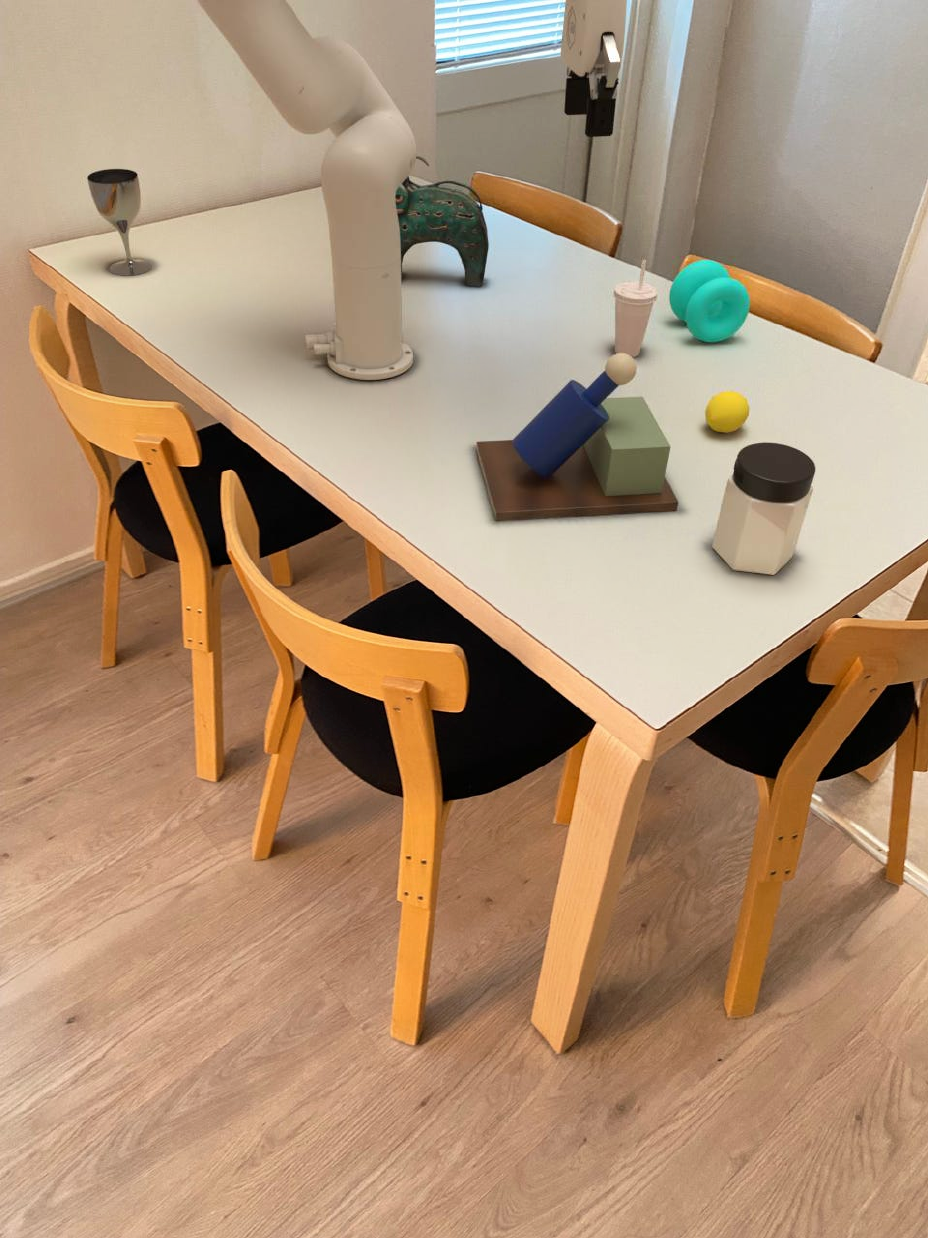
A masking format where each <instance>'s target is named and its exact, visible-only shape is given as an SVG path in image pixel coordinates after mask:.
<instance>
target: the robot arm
mask: <svg viewBox="0 0 928 1238" xmlns="http://www.w3.org/2000/svg"><path fill="white" fill-rule="evenodd" d="M197 3H198V4H199V5H200V7H201V8H202V10H203V11H204V13H205V14H206V15H207V17H208V18H209V19H210V20H211V22H212V23H213V24H214V26H215V27H216V28H217V29H218V31H219V32H220V33H221V34H222V36H223V37H224V39H225V40H226V41H227V42H228V44H229V46H231V48H232V49H233V50H234V52H235V53H236V55H237V56H238V57H239V59H240V61H241V62H242V63H243V65H244V66H245V67H246V69H247V70H248V72H249V73H250V75H251V77H253V79H254V80H255V81H256V83H257V84H258V85H259V87H260V88H261V90H262V91H263V92H264V93H265V95H266V97H267V98H268V100H270V102H271V103H272V105H273V106H274V108H275V109H276V111H278V113H279V115H280V116H281V117H282V118H283V120H284V121H285V122H286V123H287V124H288V125H289V126H290V127H291V129H293V130H295V131H296V132H298V133H301V134H303V135H317V134H320V133H323V132H324V131H326V130H328V129H329V130H330V131H331V133H332V134H333V135H334V137H335V139H334V140H333V141H332V142H331V144H330V145H329V146H328V148H327V149H326V151H325V154H324V156H323V159H322V163H321V168H320V184H321V185H320V187H321V192H322V197H323V201H324V205H325V210H326V216H327V224H328V233H329V244H330V257H331V270H332V271H331V272H332V273H331V274H332V285H333V287H332V288H333V302H334V303H333V304H334V317H335V325H333V331H327V332H326V333H327V334H316V333H315V334H313V333H312V334H305V335H304V336H305V348H306V349H314V355H323V354H327V364H328V366H329V368H330V369H331V370H332V371H334V372H335V373H337V374H338V375H340V376H343V377H345V378H349V379H354V380H361V381H378V380H379V381H380V380H387V379H391V378H394V377H397V376H400V375H401V374H404V373H405V372H407V371H408V370H410V368H411V367H412V366H413V364H414V351H413V349H412V348H411V347H410V346H409V345H408V344H407V343H406V342H403V301H402V300H403V297H402V294H403V293H402V291H403V289H402V275H401V244H400V228H399V221H398V215H397V210H396V202H395V196H396V190H397V189H398V188H399V186H400V185H401V184H402V183H403V182H404V181H405V179H406V178H407V177H408V176H409V177H410V175H411V173H412V171H413V169H414V167H415V164H416V160H417V159H416V156H417V144H416V143H417V142H416V140H415V136H414V134H413V131H412V129H411V127H410V125H409V124H408V122H407V120H406V119H405V118H404V116H403V114H402V113H401V111H400V110H399V108H398V107H397V105H396V104H395V102H394V100H393V99H392V98H391V96H390V95H389V94H388V92H387V91H386V89H385V88H384V86H383V84H382V83H381V81H379V79H378V77H377V76H376V74H375V73H374V72H373V70H372V69H371V67H370V66H369V65H368V62H366V60H365V59H364V58H363V56H362V55H361V54H360V53H359V52H358V51H357V50H356V49H355V48H354V46H352V45H351V44H350V43H348V42H346V41H345V40H343V39H341V38H339V37H336V36H330V35H322V36H317V37H312V35H311V34H310V33H309V31H308V30H307V29H306V27H305V26H304V25H303V24H302V22H301V21H300V19H299V18H298V17H297V14H296V13H295V11H294V10H293V8H292V7H291V5H289V3H288V1H286V0H197ZM627 3H628V0H565V3H564V4H565V5H564V13H563V23H562V34H561V42H560V43H561V44H560V58H561V61H562V62H563V63H564V65H566V66H567V67H566V79H565V95H564V109H563V112H564V114H565V115H566V116H584V115H585V128H584V135H585V136H587V138H598V137H611V136H612V135H613V133H614V125H615V124H614V123H615V114H616V105H617V104H616V103H617V98H618V85H619V83H620V82H619V73H620V70H621V68H622V62H623V54H624V46H625V36H626V35H625V34H626V24H627V23H626V21H627V6H628V5H627ZM598 79H599V81H598Z"/></svg>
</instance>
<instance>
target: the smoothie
mask: <svg viewBox="0 0 928 1238" xmlns="http://www.w3.org/2000/svg"><path fill="white" fill-rule="evenodd" d="M646 264H647V260H646V259H642V260H641V266H640V272H639V279H638V281H624V282H620V283H617V284H616V285H615V286H614V288H613V293H612V296H613V298H614V300H615V301H614V354H617V353H626V354H628V355H630V356H631V357H632V358H635V357H638V356H639V355H640V352H641V349H642V345H643V341H644V338H645V335H646V331H647V328H648V323H649V320H650V317H651V313H652V310H653V307H654V303H655V302H656V301H657V299H658V289H657V288H656V287H655V286H653V285H651V284H648V283H646V282H644V278H645V272H646Z"/></svg>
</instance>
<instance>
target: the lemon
mask: <svg viewBox="0 0 928 1238" xmlns="http://www.w3.org/2000/svg"><path fill="white" fill-rule="evenodd" d="M704 415H705V422H706V423H707V424H708V426H709V427H710V429H712V430H713V431H715V432H716V433H726V434H727V433H732V432H735V431H737V430H738V429H740V428H741V427H742V426H743V425H744V424H745V423H746V421H747V419H748V417H749V416H750V406H749V402H748V399H747V398H746V397H745V396H744V395H742V394H741V393H740V392H737V391H734V390H725V391H723V390H722V391H721V392H719V393H717V394H715V395H713V396H712V397H711V399H710V400H709V401H708V402H707V404H706V408H705V412H704Z"/></svg>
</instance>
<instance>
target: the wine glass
mask: <svg viewBox="0 0 928 1238" xmlns="http://www.w3.org/2000/svg"><path fill="white" fill-rule="evenodd" d="M86 180H87V184H88V189H89V191H90V192H89V193H90V196H91V198H92V202H93V204H94V206H95V208H96V211H97V212H98V213H99V216H101V217H102V219H104V220H105V221H106V222H107V223H108V224H110V225H111V226H112V227H113V228H114V229H115V230H116V231H117V232H118V234H119V236H120V238H121V241H122V244H123V247H124V251H125V257H126V259H123V260H120V261H117V262H115V263H113V264H111V265H110V266H109V272H111V273H112V274H114V275H117V276H125V277H126V276H127V277H128V276H137V275H142V274H145V273H148V272H149V271H150V270H152V268H153V264H152V262H150V261H148V260H144V259H133V258H132V254H131V248H130V239H129V236H130V230H131V227H132V225H133V224H134V223H135V220H136V219H137V217H138V216H139V214H140V211H141V203H142V197H141V196H142V195H141V194H142V193H141V185H140V178H139V174H138V173H137V172H136V171H134V170H131V169H127V168H108V169H102V170H101V169H100V170H97V171H94V172H91V173H90V174H88V176H87V177H86Z"/></svg>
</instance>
